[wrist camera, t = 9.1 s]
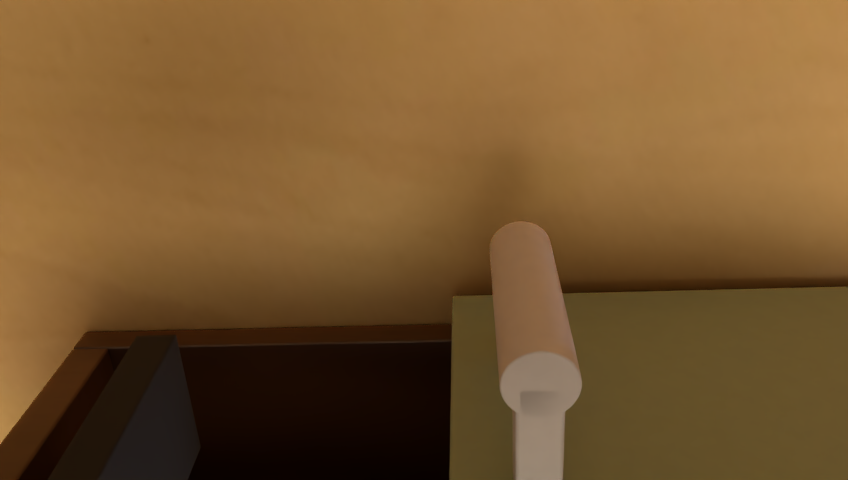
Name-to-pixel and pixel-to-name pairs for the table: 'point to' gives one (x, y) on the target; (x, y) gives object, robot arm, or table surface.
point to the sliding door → (644, 378)
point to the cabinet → (273, 403)
